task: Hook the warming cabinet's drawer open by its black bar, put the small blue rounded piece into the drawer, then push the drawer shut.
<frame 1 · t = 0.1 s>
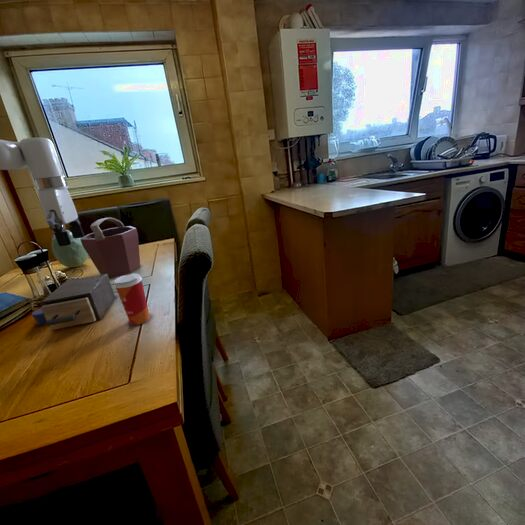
hand: (72, 241, 86), 24 cm above the table, tool pointing down, fingers open, 9 cm apart
blue rounded piece: (47, 320, 91), on the table
paper cup: (140, 320, 84), on the table
cabinet: (87, 311, 94), on the table
cabbage: (77, 266, 148), on the table
drawer: (75, 306, 88), point 5 cm above the table, slide at 1.0 cm
bucket: (120, 270, 132), on the table
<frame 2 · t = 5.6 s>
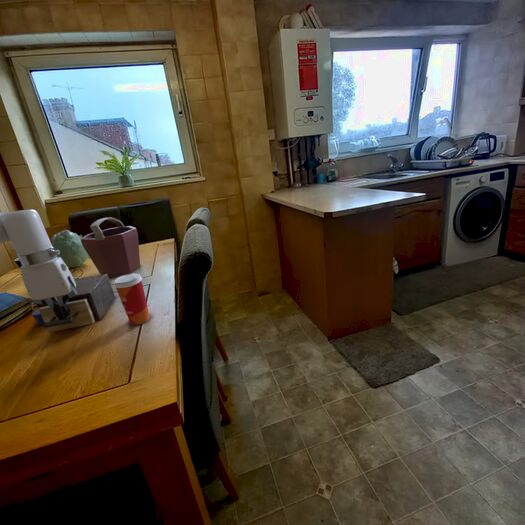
hand: (64, 317, 80), 6 cm above the table, tool pointing down, fingers closed
drawer: (74, 308, 87), point 5 cm above the table, slide at 2.2 cm, touching gripper
everything else where it was.
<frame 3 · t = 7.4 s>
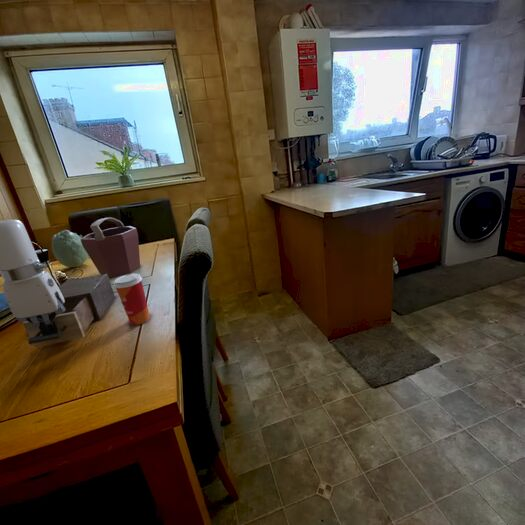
hand: (51, 335, 73), 4 cm above the table, tool pointing down, fingers closed
drawer: (63, 320, 80), point 5 cm above the table, slide at 9.8 cm
everything else where it was.
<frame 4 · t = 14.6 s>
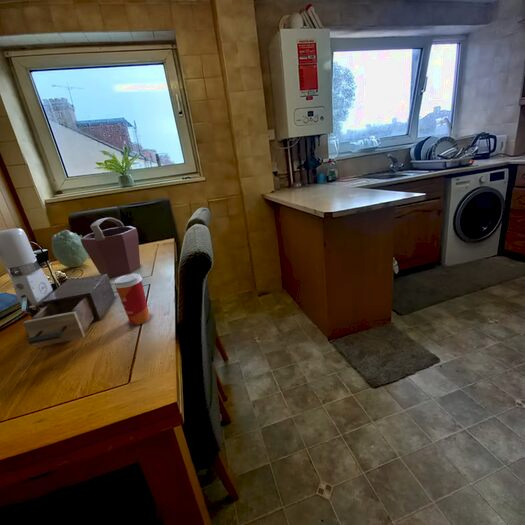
hand: (46, 319, 91), 1 cm above the table, tool pointing down, fingers closed on blue rounded piece, 5 cm apart
blue rounded piece: (47, 320, 91), on the table, touching gripper
everything else where it was.
when the fingers open (8 cm above the table, at t = 28.1 s): blue rounded piece drops 5 cm, resting on drawer.
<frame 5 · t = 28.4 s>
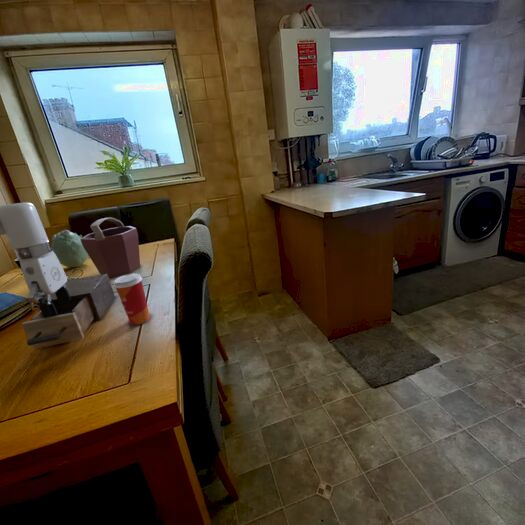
hand: (59, 309, 79), 8 cm above the table, tool pointing down, fingers open, 7 cm apart
blue rounded piece: (67, 328, 81), point 2 cm above the table, touching drawer
drawer: (62, 321, 79), point 5 cm above the table, slide at 10.3 cm, touching blue rounded piece
everything else where it was.
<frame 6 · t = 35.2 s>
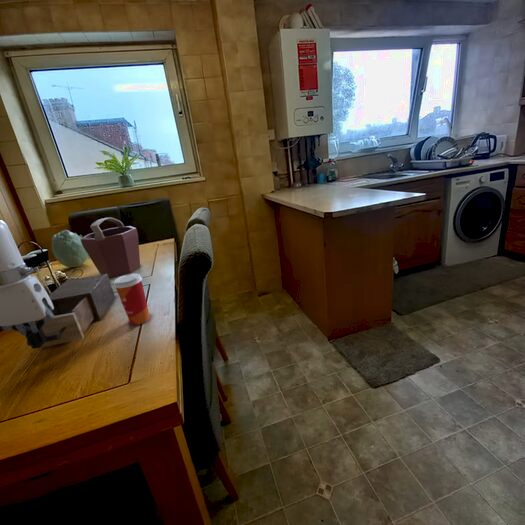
hand: (39, 344, 68), 5 cm above the table, tool pointing down, fingers closed
nothing on the table moved.
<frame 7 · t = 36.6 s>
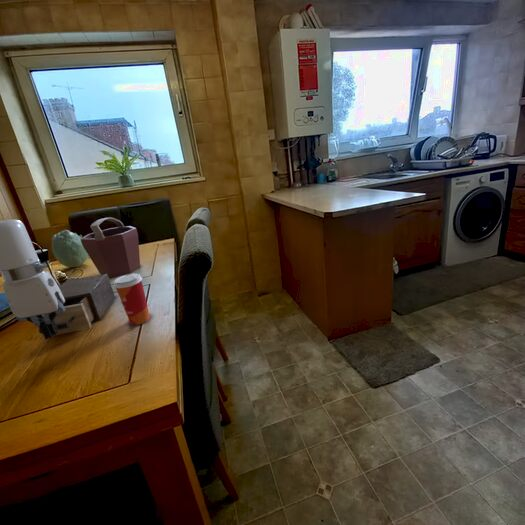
hand: (52, 335, 73), 4 cm above the table, tool pointing down, fingers closed
blue rounded piece: (75, 318, 86), point 2 cm above the table, touching drawer
drawer: (70, 312, 84), point 5 cm above the table, slide at 4.8 cm, touching blue rounded piece, gripper
everything else where it was.
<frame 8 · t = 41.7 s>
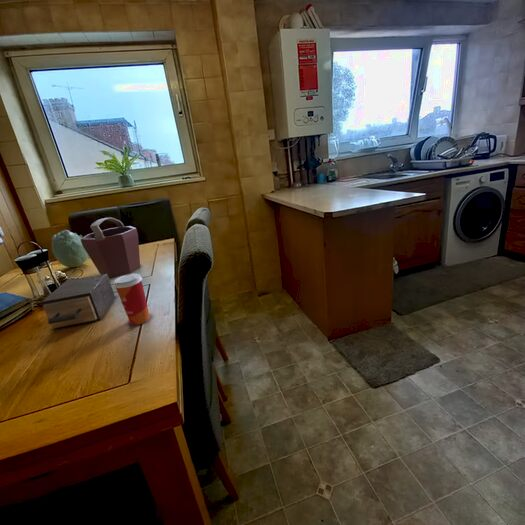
blue rounded piece: (81, 311, 91), point 2 cm above the table, touching drawer
drawer: (77, 305, 89), point 5 cm above the table, slide at 0.0 cm, touching blue rounded piece
everything else where it was.
at the end: drawer pulled out 11.0 cm at the most during the clip, back to where it started at the end; blue rounded piece inside the target area in the cabinet (3.0 cm from its centre), point 2.0 cm above the cabinet's base; drawer slide at 0.0 cm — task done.
